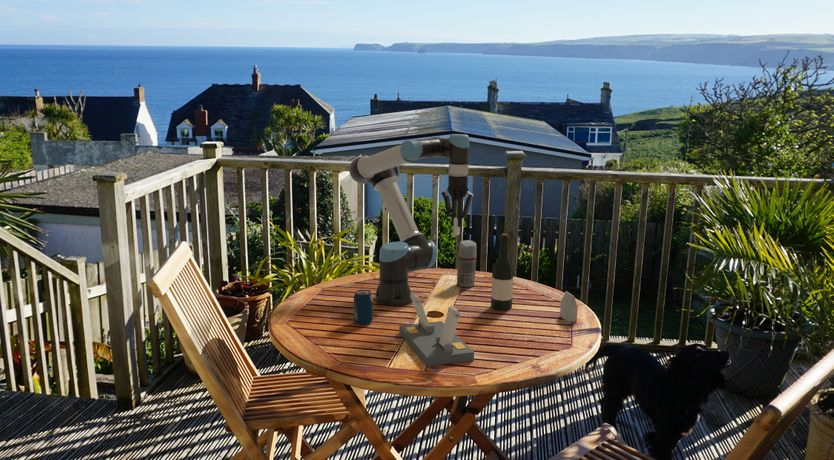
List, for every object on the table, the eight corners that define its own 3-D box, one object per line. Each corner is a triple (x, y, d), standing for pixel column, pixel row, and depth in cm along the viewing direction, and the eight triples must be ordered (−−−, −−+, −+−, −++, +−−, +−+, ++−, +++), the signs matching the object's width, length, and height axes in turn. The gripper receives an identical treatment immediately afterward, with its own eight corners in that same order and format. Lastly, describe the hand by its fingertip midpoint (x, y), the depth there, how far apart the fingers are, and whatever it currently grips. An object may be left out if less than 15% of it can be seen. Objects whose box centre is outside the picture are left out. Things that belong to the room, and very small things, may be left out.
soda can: (375, 321, 254) (376, 290, 251) (366, 327, 248) (366, 295, 245) (359, 318, 257) (359, 288, 254) (350, 324, 250) (350, 293, 248)
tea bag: (567, 322, 257) (569, 296, 254) (559, 316, 263) (561, 291, 261) (576, 321, 257) (578, 296, 255) (568, 315, 264) (570, 290, 262)
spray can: (477, 283, 303) (479, 240, 299) (472, 288, 296) (474, 244, 291) (459, 281, 306) (460, 238, 302) (454, 286, 298) (455, 242, 294)
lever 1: (425, 323, 241) (414, 291, 237) (431, 329, 236) (419, 296, 232) (420, 325, 241) (409, 294, 237) (426, 331, 235) (414, 299, 231)
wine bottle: (511, 304, 276) (514, 232, 269) (512, 311, 267) (515, 237, 261) (490, 303, 276) (493, 231, 270) (490, 310, 268) (494, 236, 262)
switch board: (441, 328, 247) (441, 314, 246) (473, 360, 219) (474, 344, 218) (399, 333, 242) (399, 318, 241) (427, 366, 214) (427, 349, 213)
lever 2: (443, 343, 225) (454, 306, 223) (450, 350, 219) (461, 312, 218) (438, 342, 224) (448, 305, 222) (444, 349, 218) (455, 311, 217)
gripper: (477, 175, 261) (475, 234, 266) (446, 172, 267) (445, 231, 272) (470, 177, 255) (468, 238, 260) (438, 174, 260) (437, 234, 265)
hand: (456, 234), depth 266 cm, fingers closed
